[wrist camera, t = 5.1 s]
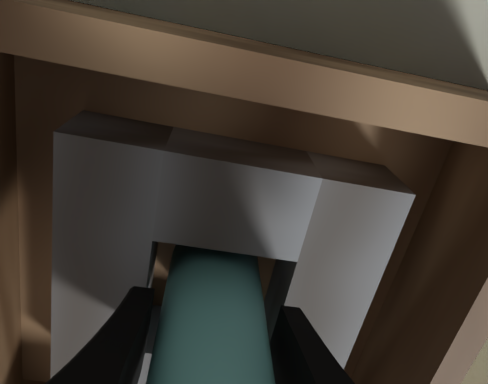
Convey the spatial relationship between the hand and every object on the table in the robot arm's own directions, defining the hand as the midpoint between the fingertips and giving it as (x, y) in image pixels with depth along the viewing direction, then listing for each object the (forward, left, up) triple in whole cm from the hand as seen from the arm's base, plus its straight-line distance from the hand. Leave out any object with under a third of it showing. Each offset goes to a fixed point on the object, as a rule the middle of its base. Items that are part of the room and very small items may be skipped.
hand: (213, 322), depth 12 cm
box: (0, 0, -4) cm, 4 cm away
